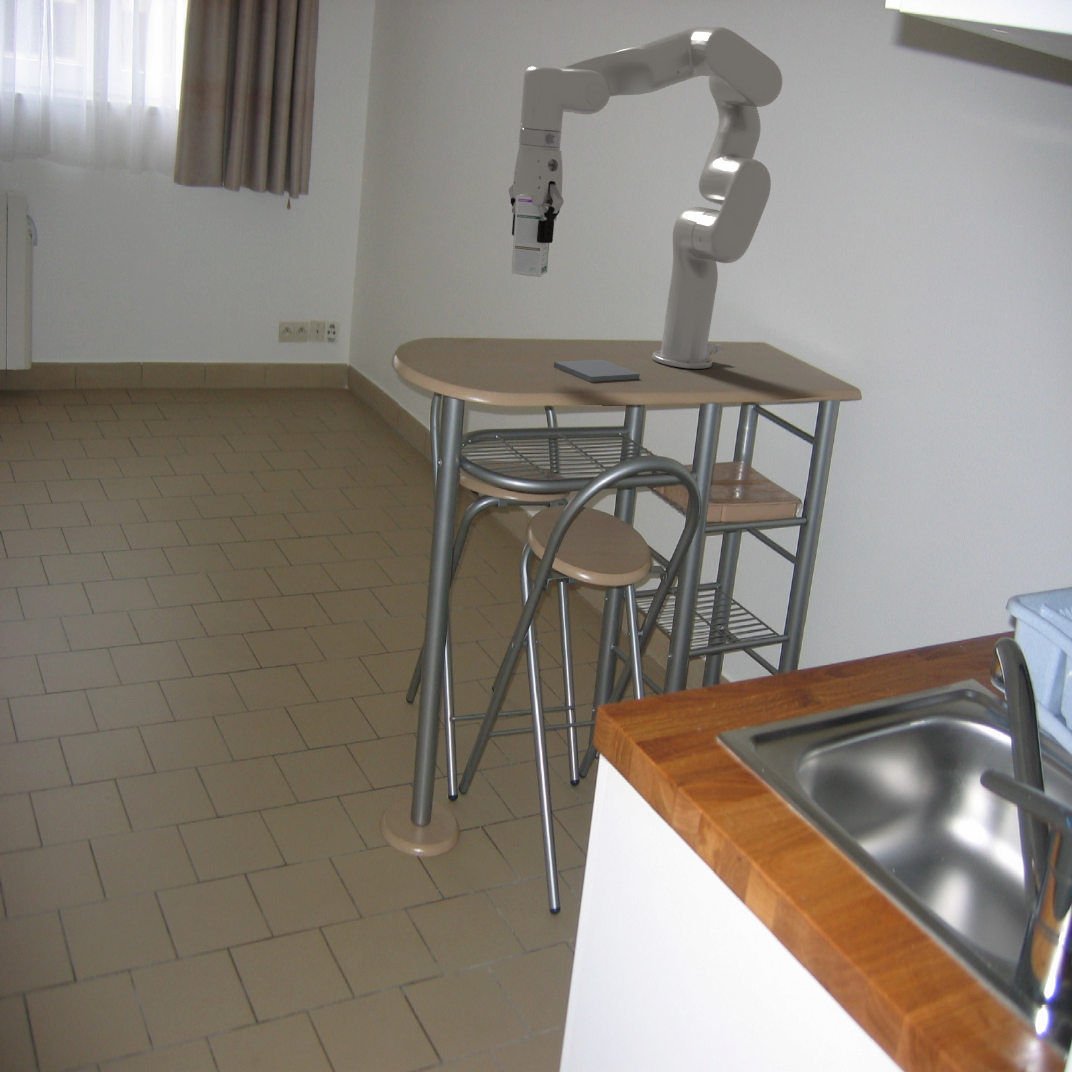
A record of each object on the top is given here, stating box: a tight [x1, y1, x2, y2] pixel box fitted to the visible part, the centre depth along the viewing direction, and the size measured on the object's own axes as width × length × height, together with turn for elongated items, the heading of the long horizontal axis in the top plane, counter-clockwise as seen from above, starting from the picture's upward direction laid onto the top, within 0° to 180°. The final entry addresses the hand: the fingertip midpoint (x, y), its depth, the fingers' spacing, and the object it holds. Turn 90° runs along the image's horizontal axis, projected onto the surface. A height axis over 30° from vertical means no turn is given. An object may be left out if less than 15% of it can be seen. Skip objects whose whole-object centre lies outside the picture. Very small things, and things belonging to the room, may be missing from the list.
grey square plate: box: [553, 359, 640, 383], centre depth 222 cm, size 12×12×1 cm
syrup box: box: [511, 195, 550, 278], centre depth 212 cm, size 6×6×14 cm
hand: (531, 238), depth 212 cm, fingers closed on syrup box, 7 cm apart
